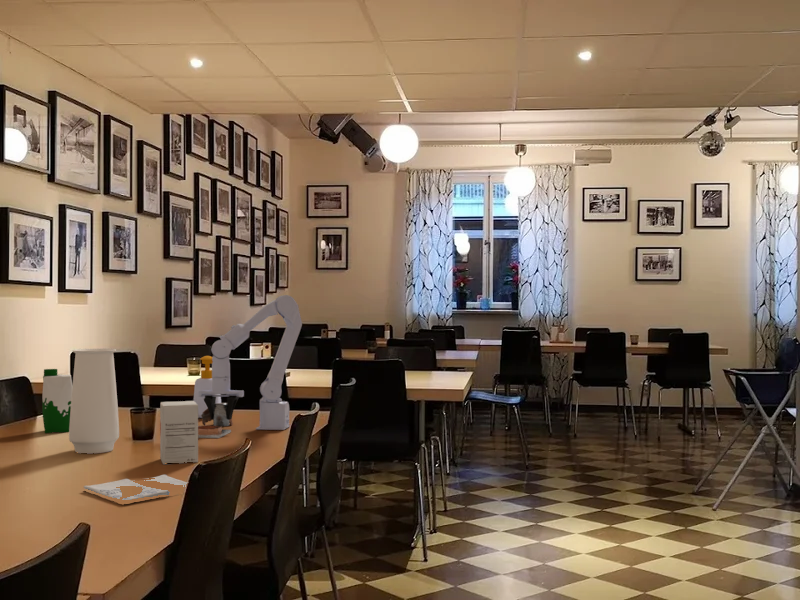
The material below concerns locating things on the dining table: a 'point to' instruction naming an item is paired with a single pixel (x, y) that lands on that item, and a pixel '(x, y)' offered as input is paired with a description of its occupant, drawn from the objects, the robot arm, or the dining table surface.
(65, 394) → the milk carton
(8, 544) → the dining table surface
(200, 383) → the soap bottle
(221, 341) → the robot arm
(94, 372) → the vase
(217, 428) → the flange plate
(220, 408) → the grey cylinder
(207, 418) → the pottery mug
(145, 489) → the white flat pieces
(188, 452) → the supplement box
